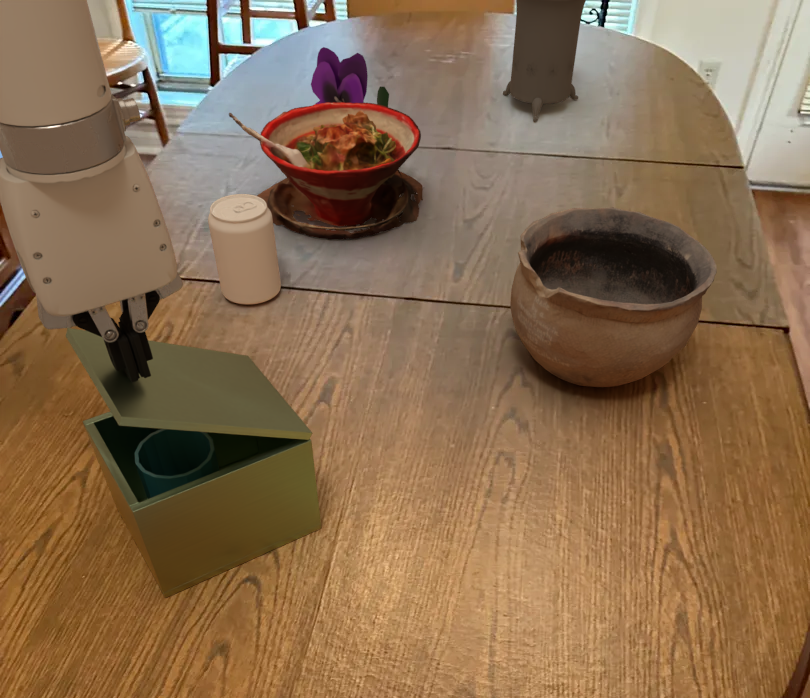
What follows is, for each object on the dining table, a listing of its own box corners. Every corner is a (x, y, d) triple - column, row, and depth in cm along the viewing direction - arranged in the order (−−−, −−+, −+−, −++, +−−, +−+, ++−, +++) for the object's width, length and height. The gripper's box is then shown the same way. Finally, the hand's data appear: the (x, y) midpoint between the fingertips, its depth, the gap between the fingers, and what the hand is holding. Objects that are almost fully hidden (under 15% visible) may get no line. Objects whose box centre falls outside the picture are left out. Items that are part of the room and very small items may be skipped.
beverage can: (210, 290, 108) (193, 205, 99) (259, 270, 112) (247, 186, 103) (243, 315, 104) (229, 229, 95) (293, 293, 108) (283, 208, 99)
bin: (165, 598, 73) (132, 512, 64) (117, 509, 81) (82, 420, 72) (321, 528, 79) (311, 440, 70) (263, 451, 87) (247, 362, 78)
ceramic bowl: (474, 331, 102) (483, 220, 91) (619, 299, 107) (645, 189, 96) (556, 437, 88) (578, 322, 77) (717, 394, 94) (761, 280, 82)
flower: (344, 146, 151) (291, 128, 141) (369, 61, 145) (315, 36, 135) (394, 171, 144) (342, 154, 134) (423, 82, 137) (371, 58, 127)
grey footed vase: (574, 125, 146) (599, -38, 127) (495, 119, 148) (508, -42, 129) (579, 88, 158) (602, -66, 139) (505, 83, 160) (519, -70, 141)
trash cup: (179, 559, 75) (156, 489, 68) (146, 516, 79) (121, 446, 72) (244, 525, 78) (228, 455, 71) (209, 486, 82) (190, 415, 75)
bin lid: (118, 425, 58) (121, 416, 58) (65, 336, 66) (67, 327, 66) (309, 440, 70) (312, 432, 70) (245, 362, 78) (248, 355, 77)
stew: (238, 252, 115) (219, 138, 103) (253, 179, 131) (238, 72, 119) (429, 249, 116) (432, 136, 104) (421, 177, 131) (423, 70, 119)
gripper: (151, 92, 55) (203, 320, 69) (-76, 140, 50) (30, 377, 63) (192, 128, 51) (239, 364, 64) (-51, 186, 45) (57, 429, 59)
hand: (135, 370), depth 64 cm, fingers closed
